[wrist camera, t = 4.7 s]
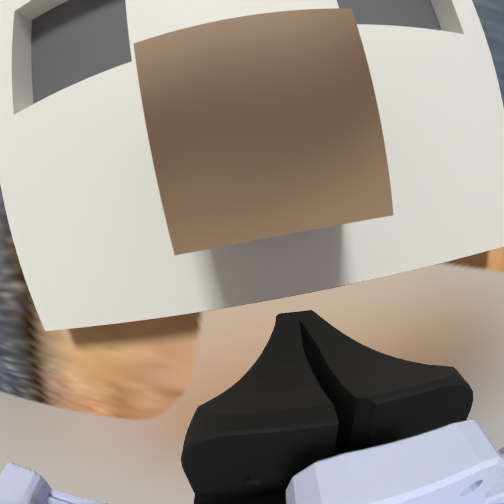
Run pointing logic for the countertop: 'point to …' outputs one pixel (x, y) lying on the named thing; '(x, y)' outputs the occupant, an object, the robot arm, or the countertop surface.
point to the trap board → (144, 178)
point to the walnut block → (263, 127)
